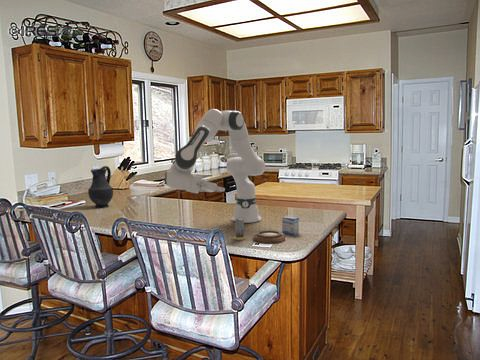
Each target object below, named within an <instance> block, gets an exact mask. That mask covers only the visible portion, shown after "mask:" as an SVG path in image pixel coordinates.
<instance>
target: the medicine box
mask: <svg viewBox="0 0 480 360" xmlns="http://www.w3.org/2000/svg"><path fill="white" fill-rule="evenodd" d="M281 222H282V223H281V224H282V225H281V226H282V227H281V233H283V234H285V235H286V234H287V235H292V236H295V235H299V234H300V229H299V228H300V223H299V222H300V218H299V217H295V216H287V215H285V216H283V217H281Z"/></svg>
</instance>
